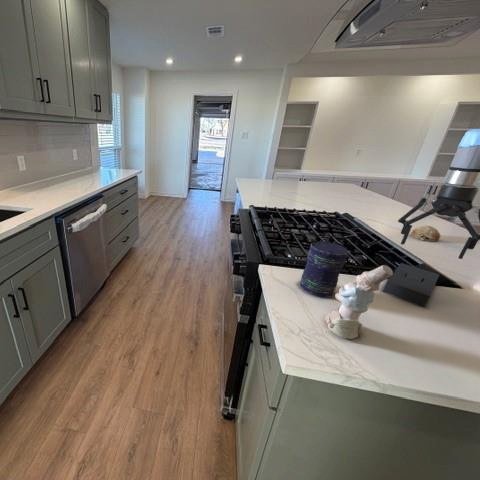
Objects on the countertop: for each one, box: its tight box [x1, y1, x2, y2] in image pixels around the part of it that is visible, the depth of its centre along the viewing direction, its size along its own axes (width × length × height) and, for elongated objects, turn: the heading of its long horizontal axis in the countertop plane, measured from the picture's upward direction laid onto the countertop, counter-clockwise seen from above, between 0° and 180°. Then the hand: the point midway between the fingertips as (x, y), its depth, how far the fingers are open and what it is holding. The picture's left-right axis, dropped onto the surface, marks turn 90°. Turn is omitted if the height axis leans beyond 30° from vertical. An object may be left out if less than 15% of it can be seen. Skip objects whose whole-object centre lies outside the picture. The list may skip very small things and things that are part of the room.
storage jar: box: [299, 240, 349, 299], centre depth 80 cm, size 10×10×15 cm
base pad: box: [382, 269, 437, 308], centre depth 81 cm, size 10×12×4 cm
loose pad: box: [395, 262, 440, 283], centre depth 86 cm, size 10×11×4 cm
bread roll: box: [410, 225, 441, 243], centre depth 126 cm, size 10×10×8 cm
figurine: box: [325, 264, 394, 340], centre depth 62 cm, size 9×8×20 cm
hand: (429, 250), depth 83 cm, fingers open, 13 cm apart
